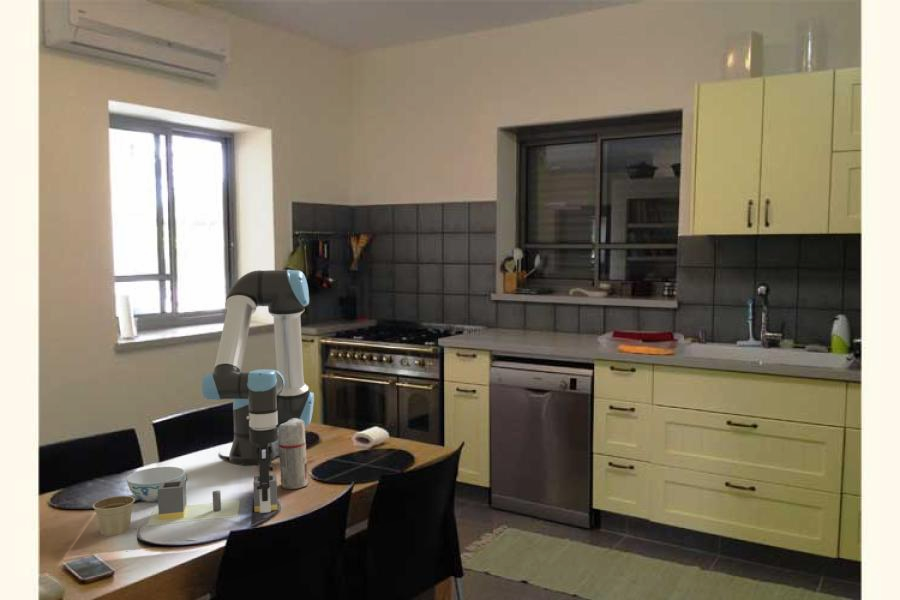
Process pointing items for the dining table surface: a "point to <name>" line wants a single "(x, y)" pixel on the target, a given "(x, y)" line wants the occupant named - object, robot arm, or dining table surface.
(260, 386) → the robot arm
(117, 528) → the flower pot
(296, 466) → the spray can
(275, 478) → the sleeve
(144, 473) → the chinaware
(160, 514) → the sleeve seated
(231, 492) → the dining table surface
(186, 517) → the pin board
